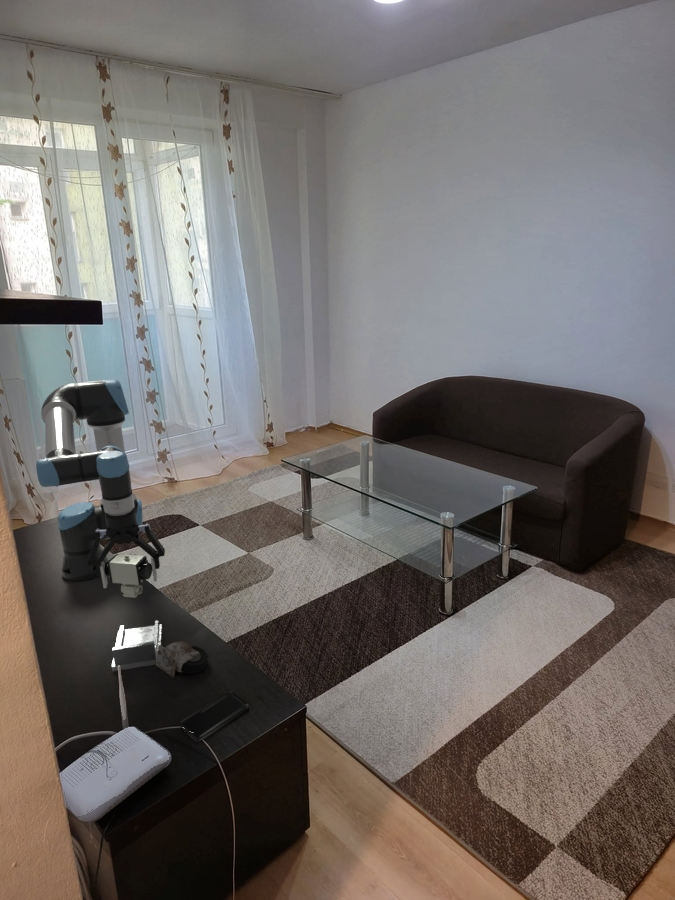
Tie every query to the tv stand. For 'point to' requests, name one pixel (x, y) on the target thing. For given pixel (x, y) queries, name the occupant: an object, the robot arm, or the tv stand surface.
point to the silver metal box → (137, 646)
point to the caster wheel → (181, 658)
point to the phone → (214, 716)
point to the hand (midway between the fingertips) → (130, 582)
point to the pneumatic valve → (129, 572)
